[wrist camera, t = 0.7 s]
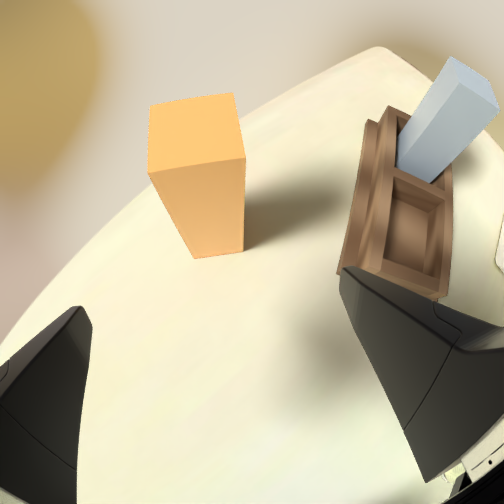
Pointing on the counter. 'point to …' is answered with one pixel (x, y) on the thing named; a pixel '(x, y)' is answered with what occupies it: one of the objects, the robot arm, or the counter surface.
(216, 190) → the orange plug
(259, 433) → the counter surface
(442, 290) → the brown wooden tray
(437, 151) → the grey plug
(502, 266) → the cable organizer
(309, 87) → the counter surface
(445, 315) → the robot arm
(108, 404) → the counter surface
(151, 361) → the counter surface
